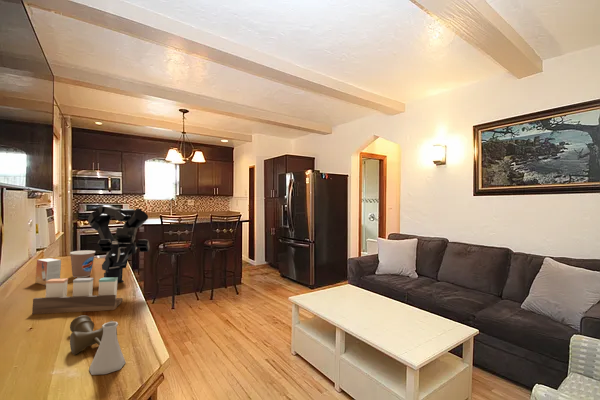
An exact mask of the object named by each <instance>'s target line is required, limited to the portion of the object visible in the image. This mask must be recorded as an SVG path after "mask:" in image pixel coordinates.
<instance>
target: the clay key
mask: <svg viewBox="0 0 600 400" xmlns="http://www.w3.org/2000/svg"><path fill="white" fill-rule="evenodd" d="M68 281H69V278H66V277H65V278H60V279H50V280H47V281H46V285H45V297H44V298H47V297H68V295H67V294H68Z"/></svg>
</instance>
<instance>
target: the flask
mask: <svg viewBox="0 0 600 400" xmlns="http://www.w3.org/2000/svg"><path fill="white" fill-rule="evenodd" d="M118 326H119V323H118V321H113V322H110V321H108V322H105V323H104V324H102V325H101V328H103V336H102V340H101V343H100V345H98V348H97V350H96V352H95V355H94V357H93V359H92V362H91V363H90V366H89V372H90V374H91V376H92V375H93V376H95V375H107V374H110V373H113V372H116V371H119V370H121V369H122V367H123V366H124V365H125V364H126V359H125V356H124V354H123V352H122V349H121V346H120V344H119V340H118V333H117V334H116V328H118Z"/></svg>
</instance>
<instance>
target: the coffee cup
mask: <svg viewBox="0 0 600 400" xmlns="http://www.w3.org/2000/svg"><path fill="white" fill-rule="evenodd" d="M95 253H96V250H88V249H87V250H85V249H84V250H74V251H70V252H69V254H70V263H71V265H70V266H71V274H72V277H73V278H75V277H77V278H88V277H90V276H91V273H92V270H93V264H94V259H95ZM77 278H76V279H77Z"/></svg>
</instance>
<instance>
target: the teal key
mask: <svg viewBox="0 0 600 400" xmlns="http://www.w3.org/2000/svg"><path fill="white" fill-rule="evenodd" d="M117 280H118V277H106V278H104V277H100V279H98V293H97V294H98V295H116V297H117V292H118V283H117ZM98 295H97V296H98Z"/></svg>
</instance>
